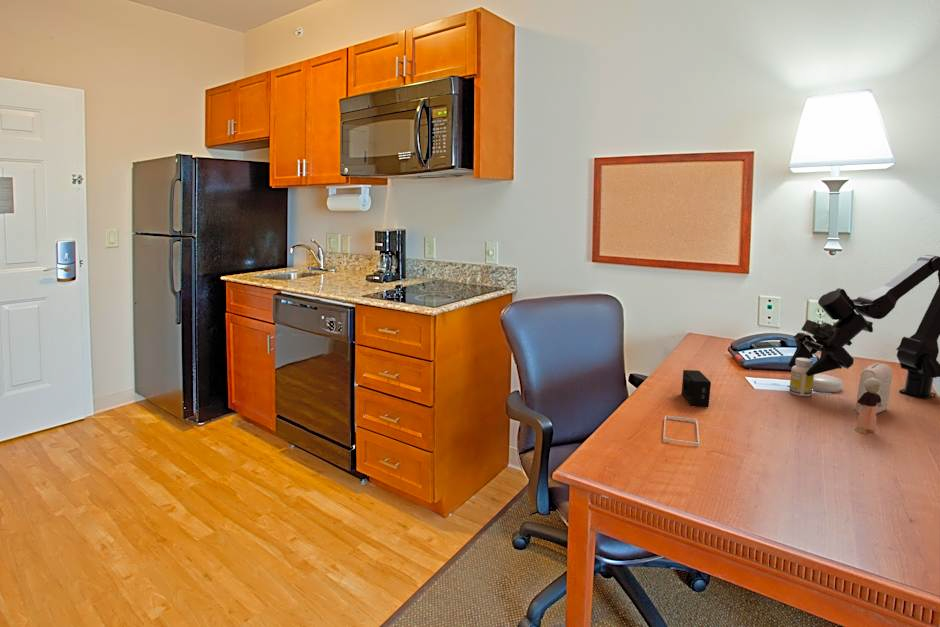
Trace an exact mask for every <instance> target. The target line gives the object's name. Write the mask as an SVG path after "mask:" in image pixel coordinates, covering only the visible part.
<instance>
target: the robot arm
mask: <svg viewBox="0 0 940 627" xmlns="http://www.w3.org/2000/svg"><path fill="white" fill-rule="evenodd" d="M935 272H937V278H938V286H937V289H936V291H935V293H934V295H933V297H932V299H931V301H930V303H929V305H928V307H927V309H926V311H925V312H924V315H923V317H922V319H921V321H920V323H919V325H918V328H917V329H916V331H915V333H914V334H912V335H911V336H910V337H907V336H903V337H902V338H901V341H900V343H899V346H898V347H897V348H896V351H897V352H896V357H897V359H898V362H899V365H900V369H904V370H907V371H906V379H905V384H904V388H902V389H899V390H898V392H899V393H901V394H906V395H910V396H914V397H917V396H918V397H917V398H921V397H923V398H922V399H929V398H931V397H930V396H932V395H935V396H936V395H937V393H936V392H932V387H933V383H934V379H937V378H940V362H939V361H938V360H937V359H938V355H939V344H938V340H939V337H940V256H938V255H929V254H925V255H921V256H920V257H918V259H917V260H916V261H915V262H914V263H913V264H911V265H910V266H908V267H907V268H906V269H904V270H902V272H900V273H899V274H897V275H896V276H895V277H894V278H892V279H891V280H889V281H888V282H887V283H885V284H884V285H882V286H881V287H878V288H876V289H871V290H869V291H867V292H865V293H863V294H861V295H859V296H858V297H857V298H853V299H852V298H850V296H849V295H848V294H847V292H846V290H845V289H843V288H840V287H839V288H837V289H835V290H832V291H829V292H827V293H825V294H822V296H820V297H819V299H818V301H817V303H818V305H819V306H820V307H821V309H823V311H824V312H825V314H826V315H827V316H828V317H830V319H831V320H835V321H836V320H837V321H836V322H835V323H833V325H832V324H830V323H829V322H828V323H827V322H825V321H824V322H822V323H821V324H820V323H818V322H816V321H813V320H810V319H806V321H805V322H804V324H803V326H802V327H801V329H800V330H801V331H803V332H797V334H795V335H794V336H793V339H794V341H795V344H796V349H795V351H794V353H793V355H792V357H791V359H790V361H789V362H788V364H787V366H788V367H789V368H792V367H793V366H795V365H796V364H795V361H796V358H807V359H812V358H814V357H815V356H814V354H816V353H817V352H820V356H819V358H818V359H817V360H816V361H815V363H813V364H812V366H811V368H810V369H809V370H808V371H807V372H806V374H807V376H811V375H815V374H823V373H826V372H828V371H829V372H830V371H833V370H838V369H840V370H841V369H843V368H844V369H846V370H848V369H849V368H851V367H852V366H853V365H854V363H855V362H854V361H855V359H854V358H853V357H852V355H851V354H850V353H849V352H848V351H847V350H846V348H844V347H845V346H849V347H850V346H851V345H853V342H852V340H853V339H854V338H855V337H856V336H857V335H858V334H860V333H861V332H862V331H865V332H868V333H873V332H874V328H873V324H874V323H873V322H872V321H869V320H867V319H866V318H870V319H874V320H881V319H884V318H885V317H887V316H888V315H889V314H890V312H892V311H893V310H894V309H895V307H896V305H897V302H898V301H899V300H900V299H901V298H902V297H903V296H905V295H906V294H908V293H909V292H910V291H911V290H913V289H914V288H915V287H917V286H918V285H919V284H921V283H922V282H923V281H925V280H927V279H928V278H929V277H930V276H932V275H933V274H934V273H935ZM865 317H866V318H865ZM805 332H807V333H805ZM928 397H929V398H928ZM932 397H933V396H932Z"/></svg>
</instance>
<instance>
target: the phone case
mask: <svg viewBox="0 0 940 627" xmlns="http://www.w3.org/2000/svg"><path fill="white" fill-rule="evenodd" d="M670 419H673V420H672V421H678V420H680V421H679V422H685V421H689V422H688V423H693V422H695V426H696V439H697V441H698V442H695V441H691V440H690V441H687V440H680V439H674V438H667V437H666V436H665V435H666V425H667V424H666V423H667V422H666V421H667V420H670ZM698 422H699V421H698V419H696V418H688V417H680V416H675V415H674V416H672V415H665V416H664V422H663V438H662V441H663V442H664V443H666V442H669V443H670V442H677V443H678V442H679V443H685V444H692V446H693V445H694V446H698V447H700V435H699V434H700V432H699V423H698ZM694 446H693V447H694Z"/></svg>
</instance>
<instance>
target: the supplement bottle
mask: <svg viewBox="0 0 940 627" xmlns="http://www.w3.org/2000/svg"><path fill="white" fill-rule="evenodd" d="M795 364H796V365H795V366H793V367H791V373H790V380H789V382H790V383H789V393H790V394H792V395H793V396H794V395H795V396H798V397H810V396H811V395H812V394H813V390H812V387H813V378H814V375H811V376H807V374H806V372H807V371H808V370H809V369H810V368H811V367H812V366H813V360H812V358H810V359H807V358H796V361H795Z"/></svg>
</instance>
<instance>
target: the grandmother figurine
mask: <svg viewBox="0 0 940 627" xmlns="http://www.w3.org/2000/svg"><path fill="white" fill-rule="evenodd" d="M880 386H881V382H880V381H879V380H878V379H875V378H869V379H866V380H865V381H864V387H865V388H866V391H867V392H865V393H864V394H863V395H862V396H861V397H860V399H859V400H858V401H857V400H856V402H857V403H855V406H853V410H854V411H855V412H857V411H858V410H859V408H860V407H861V405H862V409H861V411H860V413H858V416H857V421H856V425H855V426H856V427H854V429H853V430H854V431H855V432H857V433H860V434H863V435H864V434H868V433H875V432H876V430H877V413H876V404H877V407H882V404H881V398H880V396H879V395H878V394H877V392H878V391H879V387H880Z"/></svg>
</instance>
